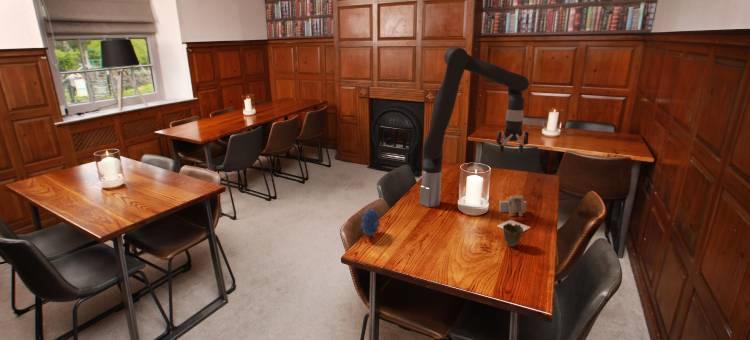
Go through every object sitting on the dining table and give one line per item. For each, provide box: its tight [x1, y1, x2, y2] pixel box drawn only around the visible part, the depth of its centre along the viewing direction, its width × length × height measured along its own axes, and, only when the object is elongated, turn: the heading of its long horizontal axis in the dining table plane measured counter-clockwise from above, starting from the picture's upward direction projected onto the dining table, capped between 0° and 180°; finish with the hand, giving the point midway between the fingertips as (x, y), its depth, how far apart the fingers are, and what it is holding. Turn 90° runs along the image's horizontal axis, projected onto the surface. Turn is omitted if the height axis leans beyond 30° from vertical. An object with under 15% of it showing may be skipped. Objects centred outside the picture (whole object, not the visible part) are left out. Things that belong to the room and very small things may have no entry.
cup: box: [502, 223, 524, 248], centre depth 156 cm, size 8×7×8 cm
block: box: [498, 200, 527, 213], centre depth 188 cm, size 2×12×5 cm, turn 89°
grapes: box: [360, 208, 381, 237], centre depth 164 cm, size 12×7×12 cm, turn 145°
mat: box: [496, 219, 531, 233], centre depth 173 cm, size 10×10×1 cm
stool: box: [507, 195, 527, 218], centre depth 183 cm, size 10×6×10 cm, turn 179°
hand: (510, 152), depth 191 cm, fingers open, 8 cm apart
